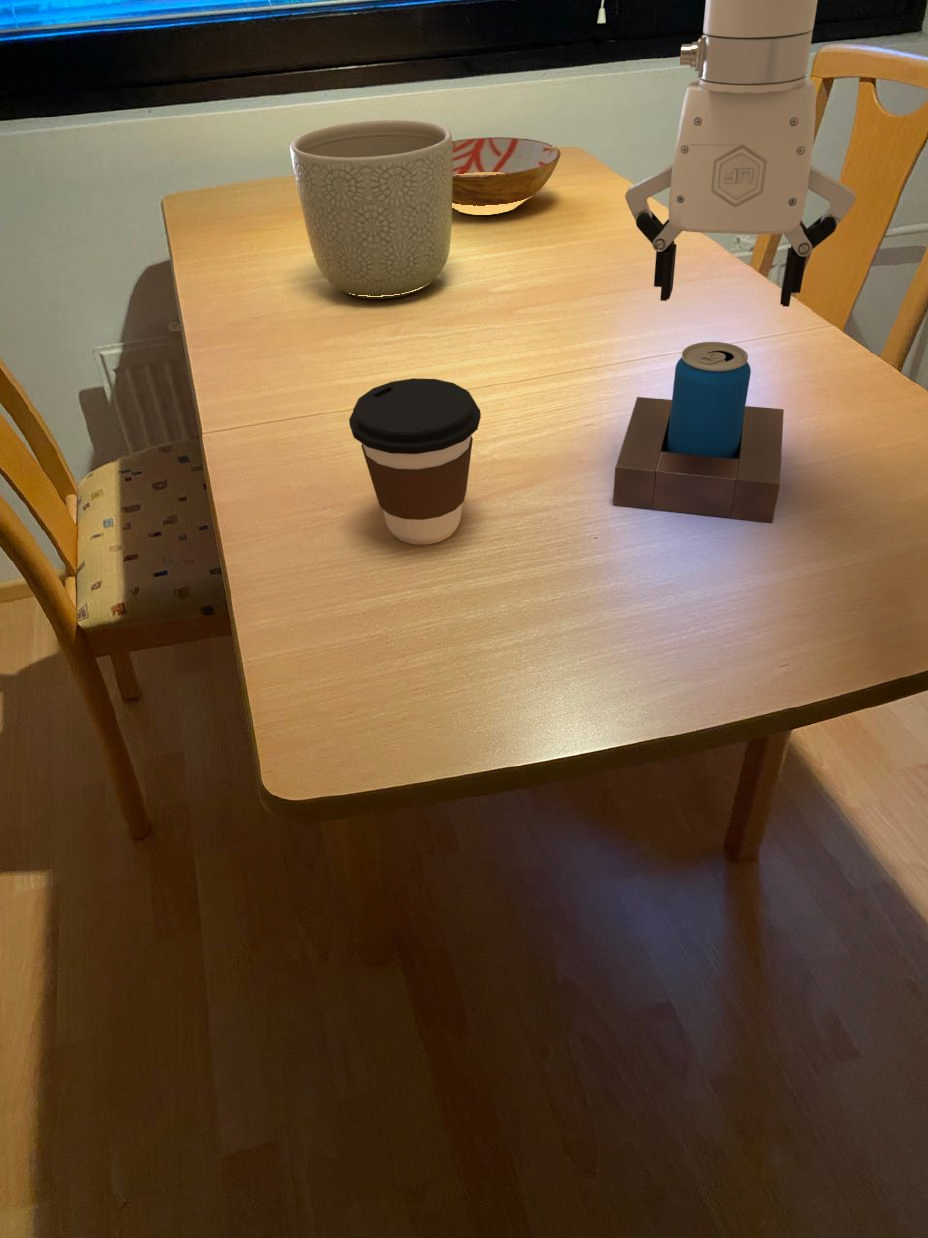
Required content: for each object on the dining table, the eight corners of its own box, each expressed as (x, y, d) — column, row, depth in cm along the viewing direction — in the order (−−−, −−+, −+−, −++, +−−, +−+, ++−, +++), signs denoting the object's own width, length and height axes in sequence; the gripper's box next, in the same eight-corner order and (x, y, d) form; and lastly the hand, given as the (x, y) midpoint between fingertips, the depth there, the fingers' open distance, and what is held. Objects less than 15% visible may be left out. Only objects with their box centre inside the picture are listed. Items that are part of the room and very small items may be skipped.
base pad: (776, 445, 92) (783, 408, 90) (772, 523, 82) (779, 483, 79) (634, 432, 96) (637, 396, 93) (612, 505, 85) (615, 466, 83)
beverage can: (748, 477, 88) (769, 356, 80) (698, 499, 85) (715, 377, 78) (698, 450, 92) (714, 333, 84) (650, 471, 89) (661, 352, 82)
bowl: (589, 208, 155) (591, 156, 150) (459, 239, 146) (456, 185, 141) (509, 177, 172) (508, 129, 167) (388, 202, 163) (383, 153, 158)
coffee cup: (338, 531, 84) (319, 410, 76) (422, 481, 90) (412, 364, 82) (426, 576, 78) (415, 450, 70) (509, 519, 84) (507, 397, 76)
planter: (302, 271, 138) (280, 129, 126) (437, 252, 141) (428, 113, 129) (325, 322, 122) (302, 166, 110) (476, 299, 126) (471, 145, 114)
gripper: (625, 72, 66) (614, 309, 77) (885, 68, 62) (835, 320, 73) (639, 55, 72) (627, 278, 82) (879, 50, 68) (833, 287, 78)
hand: (724, 297), depth 78 cm, fingers open, 9 cm apart
